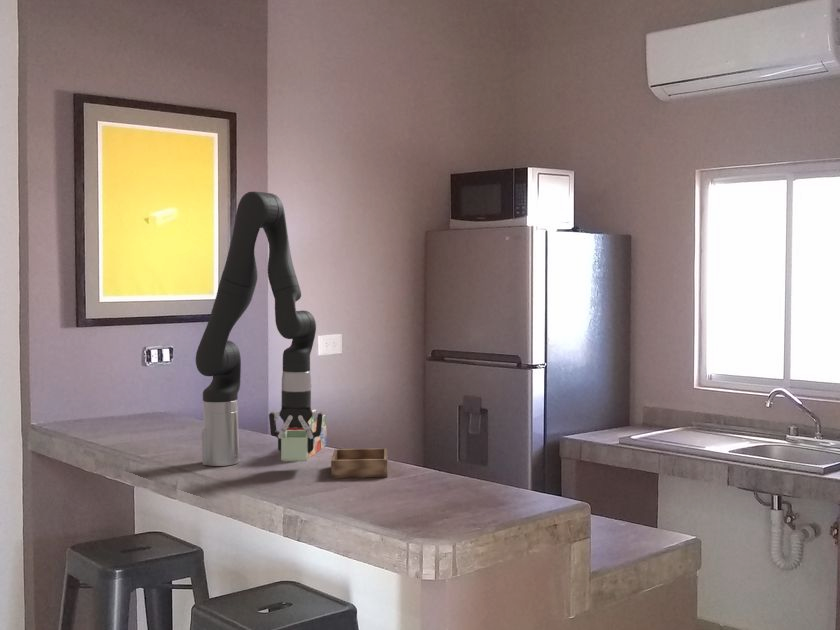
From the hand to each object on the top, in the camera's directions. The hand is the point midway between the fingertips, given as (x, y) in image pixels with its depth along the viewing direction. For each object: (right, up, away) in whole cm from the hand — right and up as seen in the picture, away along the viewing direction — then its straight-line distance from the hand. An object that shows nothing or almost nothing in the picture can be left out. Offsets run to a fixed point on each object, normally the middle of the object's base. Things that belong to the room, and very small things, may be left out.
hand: (295, 452), depth 246 cm
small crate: (0, -1, 0) cm, 1 cm away
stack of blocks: (0, -4, +26) cm, 26 cm away
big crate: (+17, -5, 0) cm, 17 cm away
